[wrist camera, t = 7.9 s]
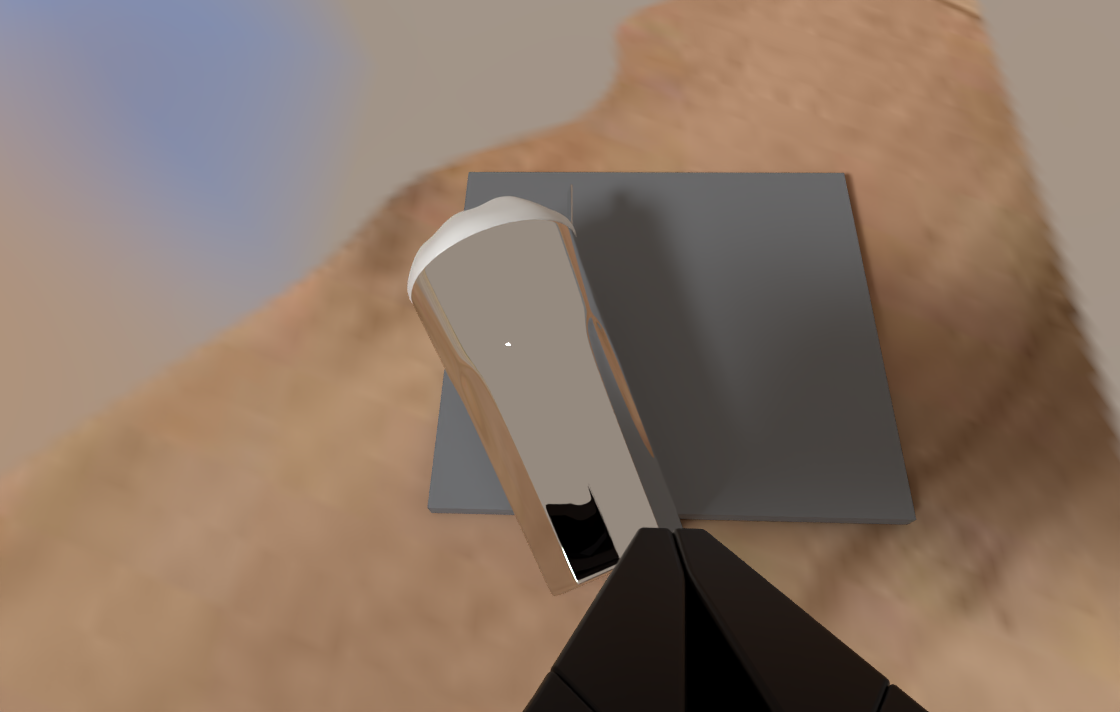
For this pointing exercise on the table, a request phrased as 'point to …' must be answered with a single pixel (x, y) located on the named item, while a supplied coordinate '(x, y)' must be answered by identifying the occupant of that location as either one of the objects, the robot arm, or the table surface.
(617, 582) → the robot arm
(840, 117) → the table surface
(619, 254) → the mat
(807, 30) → the table surface
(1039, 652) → the table surface
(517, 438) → the milkshake
